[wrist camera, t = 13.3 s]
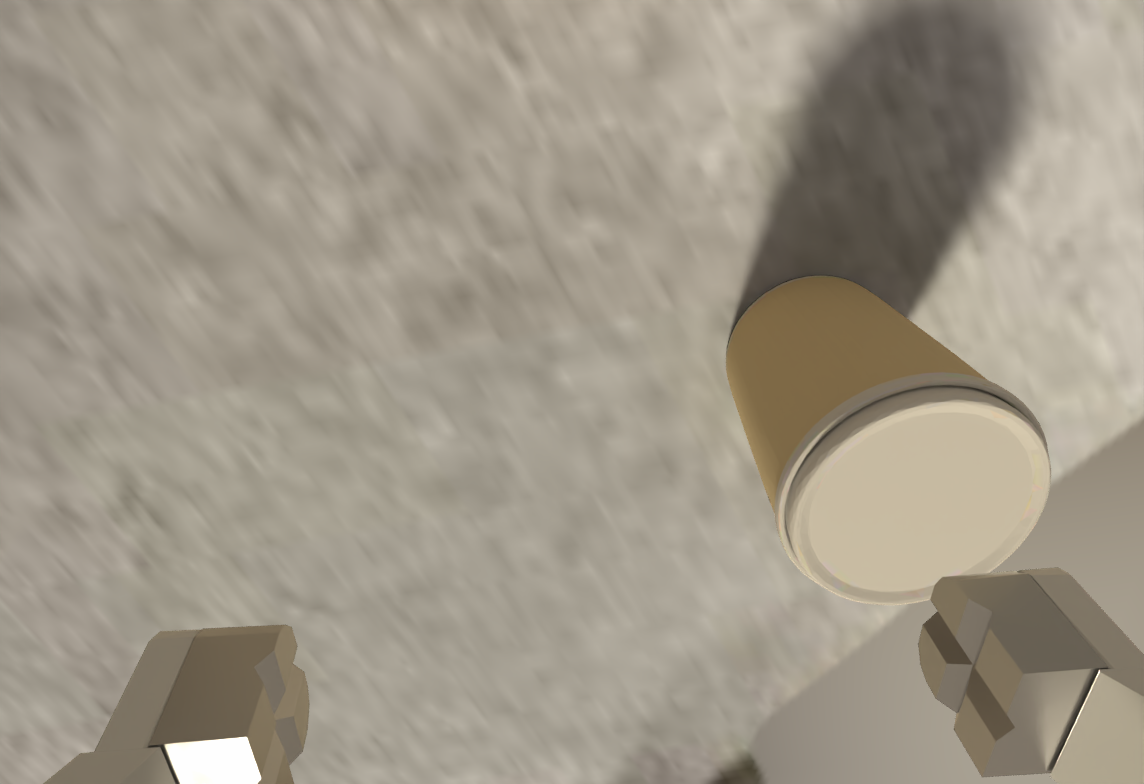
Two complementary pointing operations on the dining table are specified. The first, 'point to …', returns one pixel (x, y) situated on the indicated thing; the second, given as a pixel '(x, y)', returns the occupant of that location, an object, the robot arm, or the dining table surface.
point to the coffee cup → (880, 444)
